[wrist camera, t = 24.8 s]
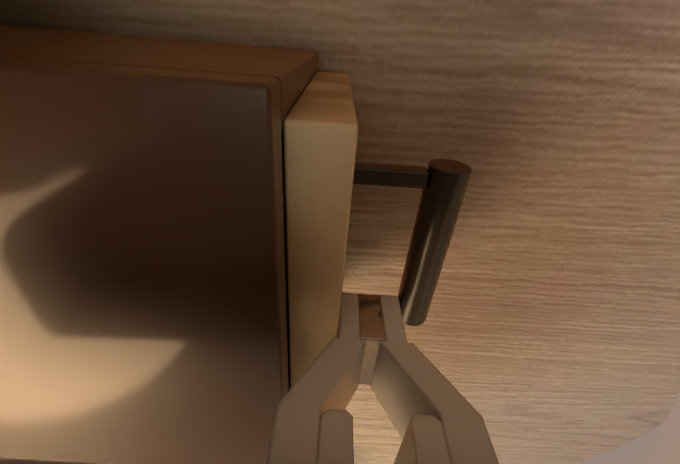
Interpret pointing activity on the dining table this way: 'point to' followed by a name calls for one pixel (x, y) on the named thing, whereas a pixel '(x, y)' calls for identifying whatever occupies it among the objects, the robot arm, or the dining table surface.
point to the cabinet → (143, 246)
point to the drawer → (334, 211)
